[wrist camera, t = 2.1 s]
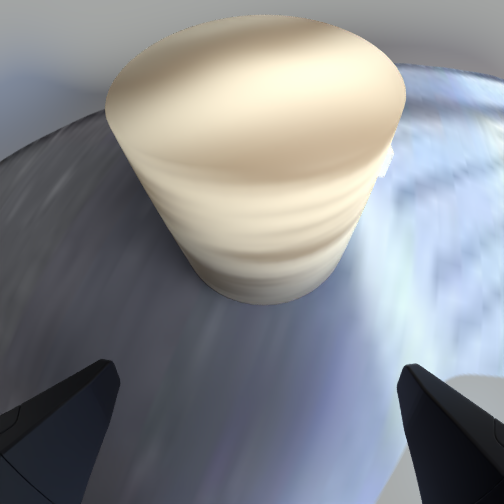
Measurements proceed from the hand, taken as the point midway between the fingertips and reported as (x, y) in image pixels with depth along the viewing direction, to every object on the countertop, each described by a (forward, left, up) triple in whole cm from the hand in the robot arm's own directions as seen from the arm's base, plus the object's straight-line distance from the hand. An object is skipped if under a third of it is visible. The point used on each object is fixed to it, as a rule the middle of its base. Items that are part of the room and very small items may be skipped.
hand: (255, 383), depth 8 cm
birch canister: (+8, -5, -7) cm, 12 cm away
